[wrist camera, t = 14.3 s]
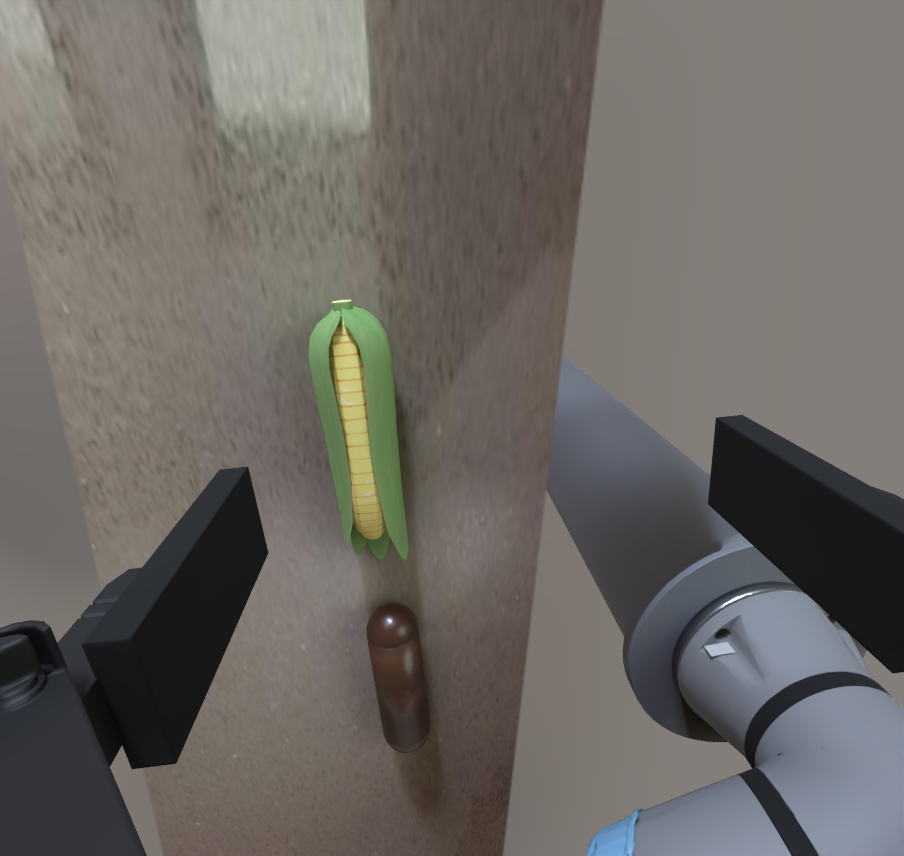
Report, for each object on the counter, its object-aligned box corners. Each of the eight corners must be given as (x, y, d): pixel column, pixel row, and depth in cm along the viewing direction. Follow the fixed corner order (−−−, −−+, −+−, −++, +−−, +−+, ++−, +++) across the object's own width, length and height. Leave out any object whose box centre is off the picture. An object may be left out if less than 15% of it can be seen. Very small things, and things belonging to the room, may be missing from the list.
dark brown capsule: (365, 595, 43) (360, 629, 39) (415, 589, 43) (415, 623, 40) (386, 725, 48) (385, 767, 44) (431, 719, 48) (433, 761, 44)
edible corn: (386, 293, 35) (383, 301, 31) (415, 555, 42) (415, 591, 38) (306, 299, 35) (292, 309, 31) (348, 561, 42) (342, 599, 38)
